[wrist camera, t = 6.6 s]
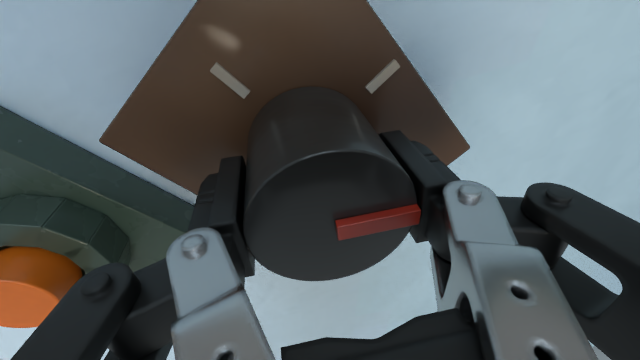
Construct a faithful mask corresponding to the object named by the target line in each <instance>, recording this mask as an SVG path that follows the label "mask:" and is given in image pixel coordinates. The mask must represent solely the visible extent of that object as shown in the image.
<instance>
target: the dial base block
mask: <svg viewBox="0 0 640 360" xmlns="http://www.w3.org/2000/svg"><path fill="white" fill-rule="evenodd" d="M309 86H312V87H323V88H328V89H331V90H335V91H337V92H339V93H341V94H343V95H344V96H346V97H347V98H349V99H350V100H351V101H352V102H353V103H354V104H355V105H356V106H357V107H358V108H359V110H360V111H361V112H362V114H363V115H364V116H365V118H366V119H367V120H368V122H369V123H370V124H371V126H372V127H373V128H374V130H375V131H376V132H377V134H378V135H379V134H380V133H383V132H389V131H396V130H400V131H401V132H402V133H403V134H404V135H405V136H406V137H407V138H408V139H409V140H410V141H413V140H415V141H417V142H419V143H421V144H423V145H425V146H427V147H428V148H429V149H430V150H431V151H432V152H433V153H434V155H436V156H437V157H438V158H439V159H440V161H442V162H443V163H444V164H445V165H446V166H448V165H449V164H450V163H451V162H453V161H454V160H455V159H457V158H458V157H459V156H461V155H462V154H463V153H464V152H466V151H467V150H468V149H470V146H469V144H468V143H467V142H466V140H465V139H464V137H463V136H462V134H461V133H460V132H459V130H458V129H457V127H456V126H455V125H454V123H453V122H452V120H451V119H450V118H449V116H448V115H447V113H446V112H445V110H444V109H443V108H442V106H441V105H440V103H439V102H438V101H437V99H436V98H435V96H434V95H433V94H432V92H431V91H430V89H429V88H428V86H427V85H426V84H425V82H424V81H423V79H422V78H421V77H420V75H419V74H418V72H417V71H416V70H415V68H414V67H413V65H412V64H411V62H410V61H409V60H408V58H407V57H406V55H405V54H404V53H403V51H402V50H401V48H400V47H399V46H398V44H397V43H396V41H395V40H394V38H393V37H392V36H391V34H390V33H389V31H388V30H387V29H386V27H385V26H384V24H383V23H382V22H381V20H380V19H379V17H378V16H377V14H376V13H375V12H374V10H373V9H372V7H371V6H370V5H369V3H368V2H367V0H197V2H196V3H195V5H194V6H193V8H192V9H191V10H190V12H189V13H188V15H187V16H186V17H185V19H184V20H183V22H182V23H181V24H180V26H179V27H178V29H177V30H176V32H175V33H174V34H173V36H172V37H171V39H170V40H169V41H168V43H167V44H166V46H165V47H164V49H163V50H162V51H161V53H160V54H159V56H158V57H157V58H156V60H155V61H154V63H153V64H152V65H151V67H150V68H149V70H148V71H147V73H146V74H145V75H144V77H143V78H142V80H141V81H140V82H139V84H138V85H137V87H136V88H135V90H134V91H133V92H132V94H131V95H130V97H129V98H128V99H127V101H126V102H125V104H124V105H123V107H122V108H121V109H120V111H119V112H118V114H117V115H116V116H115V118H114V119H113V121H112V122H111V123H110V125H109V126H108V128H107V129H106V131H105V132H104V133H103V135H102V136H101V138H100V139H99V141H100V142H101V143H102V144H104V145H106V146H108V147H110V148H112V149H113V150H115V151H117V152H119V153H121V154H123V155H125V156H126V157H128V158H130V159H132V160H134V161H136V162H137V163H139V164H141V165H143V166H145V167H147V168H148V169H150V170H152V171H154V172H156V173H158V174H160V175H161V176H163V177H165V178H167V179H169V180H171V181H172V182H174V183H176V184H178V185H180V186H182V187H183V188H185V189H187V190H189V191H191V192H193V193H195V194H196V195H198V192H199V188H200V185H201V183H202V182H203V181H204V180H205V178H206V177H207V176H208V175H209V174H215V173H218V172H219V167H220V162H221V159H222V158H228V157H234V156H241V155H242V156H243V158H244V160H245V164H246V163H247V147H248V136H249V132H250V128H251V125H252V123H253V121H254V119H255V117H256V116H257V114H258V113H259V112H260V110H261V109H262V108H263V107H264V106H265V105H266V104H267V103H268V102H269V101H271V100H272V99H273V98H275V97H276V96H278V95H280V94H282V93H284V92H286V91H289V90H292V89H296V88H300V87H309Z"/></svg>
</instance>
